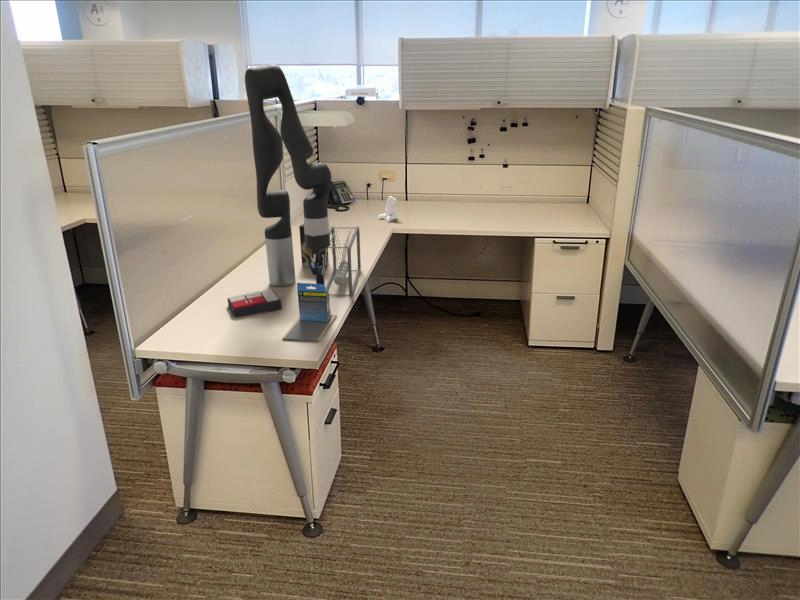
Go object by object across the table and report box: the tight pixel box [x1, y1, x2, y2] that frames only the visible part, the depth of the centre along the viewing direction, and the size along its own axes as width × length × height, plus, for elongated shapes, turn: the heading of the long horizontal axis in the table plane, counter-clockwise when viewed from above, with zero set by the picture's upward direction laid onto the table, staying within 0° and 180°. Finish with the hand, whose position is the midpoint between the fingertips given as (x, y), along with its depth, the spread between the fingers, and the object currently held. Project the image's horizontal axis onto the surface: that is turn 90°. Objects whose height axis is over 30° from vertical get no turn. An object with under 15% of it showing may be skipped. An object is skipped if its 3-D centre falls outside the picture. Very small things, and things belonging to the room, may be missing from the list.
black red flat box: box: [227, 288, 283, 318], centre depth 185 cm, size 11×4×15 cm
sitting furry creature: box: [378, 195, 399, 223], centre depth 292 cm, size 10×9×12 cm
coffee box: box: [298, 223, 330, 268], centre depth 223 cm, size 9×6×16 cm
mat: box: [282, 314, 337, 343], centre depth 170 cm, size 18×11×1 cm, turn 171°
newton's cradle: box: [323, 225, 362, 298], centre depth 203 cm, size 30×10×18 cm, turn 178°
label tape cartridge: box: [296, 282, 331, 322], centre depth 173 cm, size 9×4×12 cm, turn 81°
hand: (320, 285), depth 179 cm, fingers closed
